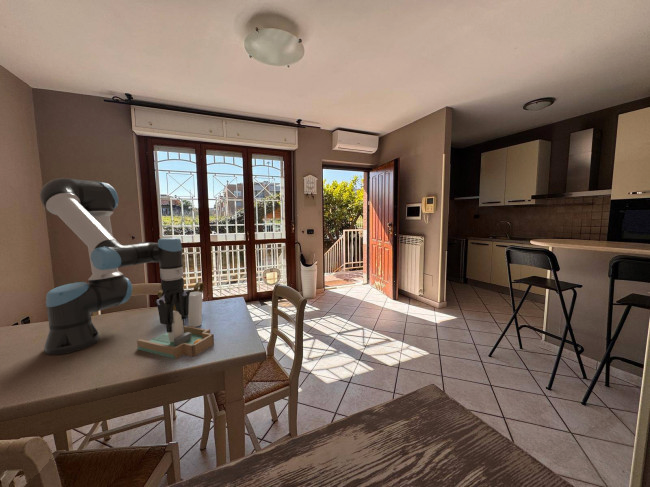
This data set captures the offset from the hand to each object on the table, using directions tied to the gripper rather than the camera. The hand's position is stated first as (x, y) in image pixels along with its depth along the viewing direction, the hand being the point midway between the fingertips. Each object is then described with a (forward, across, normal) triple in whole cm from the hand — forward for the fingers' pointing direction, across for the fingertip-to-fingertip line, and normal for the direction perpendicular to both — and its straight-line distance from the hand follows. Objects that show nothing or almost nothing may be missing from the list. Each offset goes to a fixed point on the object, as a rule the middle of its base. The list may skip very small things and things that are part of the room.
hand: (176, 337), depth 101 cm
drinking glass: (+3, +16, +7) cm, 18 cm away
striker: (+1, 0, -1) cm, 2 cm away
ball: (+1, 0, -11) cm, 11 cm away
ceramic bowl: (+3, +24, +23) cm, 34 cm away
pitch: (+3, 0, -2) cm, 3 cm away
